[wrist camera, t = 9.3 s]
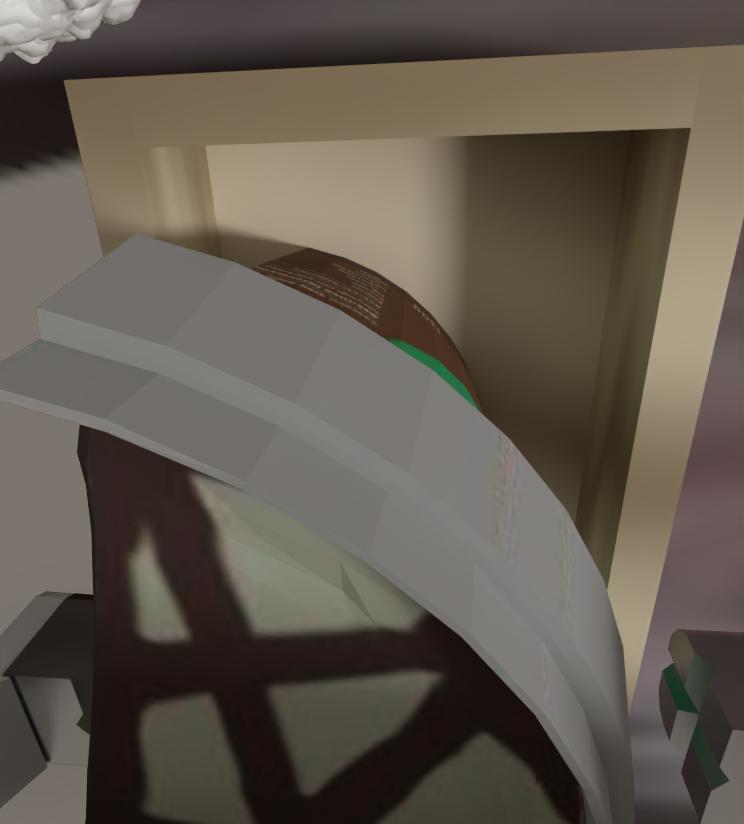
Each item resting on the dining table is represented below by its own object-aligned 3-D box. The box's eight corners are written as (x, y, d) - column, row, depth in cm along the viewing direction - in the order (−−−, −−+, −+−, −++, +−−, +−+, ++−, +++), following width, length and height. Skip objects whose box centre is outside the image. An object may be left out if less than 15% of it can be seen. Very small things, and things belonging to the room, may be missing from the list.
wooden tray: (582, 628, 18) (619, 757, 14) (255, 609, 19) (210, 724, 15) (673, 72, 12) (783, 42, 8) (174, 96, 13) (63, 80, 9)
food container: (461, 651, 17) (481, 1200, 8) (262, 607, 18) (72, 1101, 9) (608, 234, 12) (1104, 534, 3) (317, 175, 12) (-44, 291, 3)
